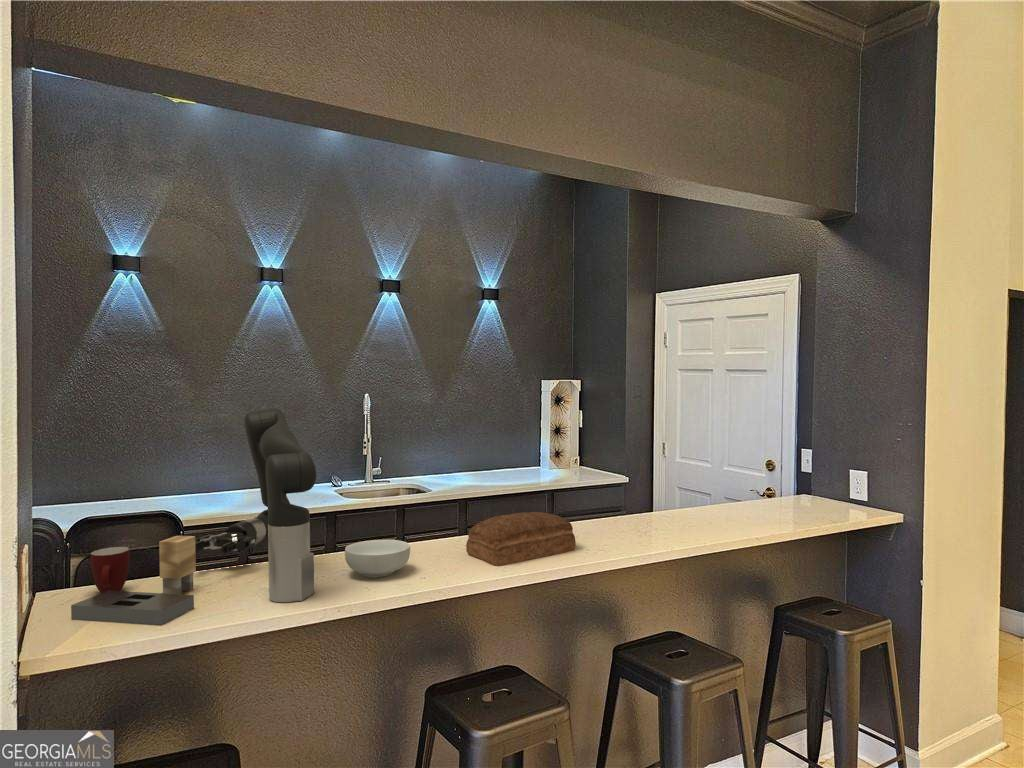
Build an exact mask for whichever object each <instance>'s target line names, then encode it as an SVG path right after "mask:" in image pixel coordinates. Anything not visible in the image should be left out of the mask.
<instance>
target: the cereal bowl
mask: <svg viewBox="0 0 1024 768" xmlns="http://www.w3.org/2000/svg"><path fill="white" fill-rule="evenodd" d="M410 554H411V545H410V543H409V542H406V541H403V540H397V539H371V540H364V541H358V542H354V543H350V544H349V545H348V544H347V546H345V549H344V559H345V562H346V564H347V566H348V567H349V568H350V569H351V570H353V571H355V572H356V573H359V574H361V575H362V576H364V577H366V578H382V577H383V578H384V577H388V576H390V575H392V574H393V573H394V572H395V571H398V570H400V569H402V568H403V567H405V565H406V564H407V563H408V561H409V559H410V556H411V555H410Z"/></svg>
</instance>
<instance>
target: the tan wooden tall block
mask: <svg viewBox="0 0 1024 768" xmlns="http://www.w3.org/2000/svg"><path fill="white" fill-rule="evenodd" d="M158 543H159V545H158V547H159V549H158V551H159V553H158V554H159V579H162V593H163V594H181V595H182V592H185V591H191V590H193V591H194V573H195V572H196V571H197V570H196V567H197V566H196V565H197V563H196V561H197V560H196V552H195V543H196V535H195V536H193V535H175V536H172V537H168V538H166V539H163V540H160V541H159V542H158ZM191 592H192V591H191Z"/></svg>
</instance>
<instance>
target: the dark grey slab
mask: <svg viewBox="0 0 1024 768" xmlns="http://www.w3.org/2000/svg"><path fill="white" fill-rule="evenodd" d="M193 608H194V609H195V596H194V595H193V594H182V593H181V594H163V592H162V593H160V592H142V591H128V590H127V591H125V590H121V591H110V590H108V591H106V592H103V593H99V594H96V595H94V596H91V597H89V598H86V599H83V600H81V601H79V602H76V603H74V604H70V610H71V611H70V614H71V615H70V616H71V618H72V619H71V618H70V619H71V620H75V619H80V621H94V622H107V623H123V624H137V625H150V626H151V625H153V626H163V625H165V624H167V623H169V622H171V621H172V620H173V621H174V620H175V619H177V618H178V616H179V617H180V615H181V616H183V615H185V614H186V613H185V612H187V611H189V610H191V609H192V610H194V609H193ZM192 610H191V611H192ZM189 612H190V611H189ZM184 613H185V614H184ZM187 613H188V612H187ZM182 614H183V615H182ZM176 617H177V618H176ZM174 618H175V619H174ZM170 620H171V621H170Z"/></svg>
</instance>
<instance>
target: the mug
mask: <svg viewBox="0 0 1024 768" xmlns="http://www.w3.org/2000/svg"><path fill="white" fill-rule="evenodd" d="M130 560H131V550H130V548H129V547H127V546H126V547H125V546H114V547H106V548H102V549H101V548H100V549H97V550H94V551H92V552H91V553H90V568H91V573H92V576H93V582H94V586H95V587H96V589H97V590H98V591H99V594H101V593H103V592H106V591H108V590H110V591H123V590H122V589H123V588H124V586H125V584H126V582H127V579H128V572H129V567H130V562H131V561H130Z"/></svg>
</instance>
